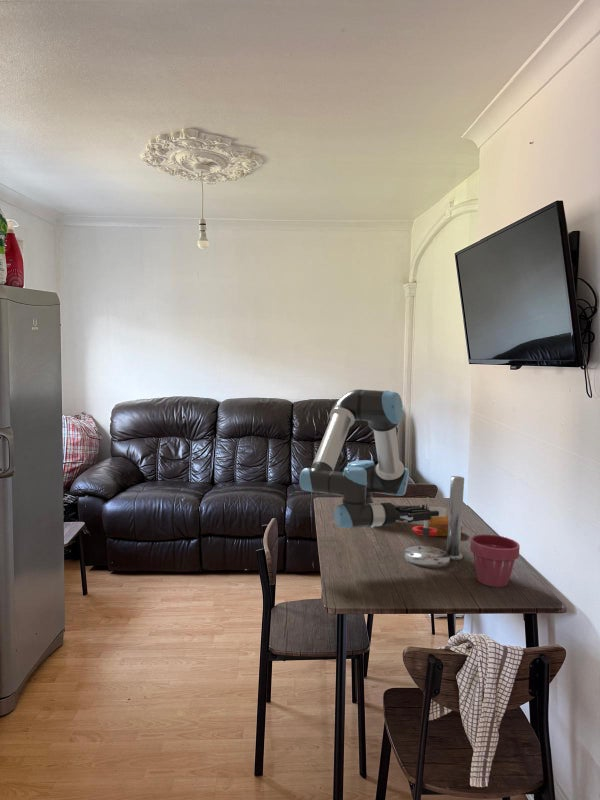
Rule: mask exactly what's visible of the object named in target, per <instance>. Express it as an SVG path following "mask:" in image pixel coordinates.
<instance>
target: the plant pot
mask: <svg viewBox="0 0 600 800" xmlns="http://www.w3.org/2000/svg"><path fill="white" fill-rule="evenodd" d="M520 546H521V545H520V544H519V542H518V541H515V540H514V539H512V538H509V537H504V536H503V535H502V536H501V535H495V534H485V533H484V534H477V535H476V534H475V535H473V536H472V537H471V538H470V547H469V548H470V549H469V550H470V552H471V553H473V561H474V568H475V569H474V570H475V572H476V579H477V581H478V582H479V583H480V584H483V585H485V586H489V587H492V588H493V587H494V588H503V587H506V586H508V584H509V580H510V577H511V575H512V572H513V569H514V566H515V562H516V560H518V558H519V557H520Z"/></svg>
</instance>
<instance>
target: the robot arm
mask: <svg viewBox="0 0 600 800" xmlns="http://www.w3.org/2000/svg"><path fill="white" fill-rule="evenodd" d="M403 407H404V406H403V401H402V398H401V395H400V394H399V393H398V392H396V391H390V390H375V389H374V390H371V389H353V390H351V391H348V392H347V393H345V394H344V395H342V396H341V397H339V399H338V400H336V402H335V403H334V405H332V408H331V411H330V412H329V422H328V424H327V427H326V430H325V432H324V435H323V437H322V440H321V442H320V445H319V448H318V449H317V452H316V454H315V457H314V459H313V462H312V465H311V467H304V468H303V469H301V471H300V474H299V478H298V479H299V482H298V483H299V486H300V489H301V490H303V491H306V492H310V493H320V494H325V495H326V494H329V495H335V496H342V500H341V501H342V503H340V504H336V505H335V508H334V511H333V515H334V516H333V518H334V522H335V524H336V526H338V527H339V528H341V529H355V528H358V529H359V528H368V527H369V528H371V529H374V528H375V527H381V526H382V527H391V526H393V525H395V523H396V522H397V521H398V522H404V521H407V523H409V524H410V523H413V522H420V521H424V520H430V519H431V517H445V516H446V515H447V508H446V507H444V506H429V509H428V510H426V504H422V505H397V504H393V503H392V502H374V499H373V493H374V494H380V495H381V494H383V495H389V496H404V495H405V494H406V492H407V487H408V483H409V475H410V469H409V468H407V467H405V466H404V464H403V462H402V461H401V460H400V455H399V443H398V437H397V436H398V435H397V429H396V428H397V427H398V425H399V424H400V423H401V421H402V419H403V413H404V411H403V409H404V408H403ZM356 421H362V422H364V421H365V422H367V425H368V427H370V429H371V430H372V431H373V437H374V442H375V449H376V455H377V456H376V457H377V464H375V462H374V460H370V459H369V460H367V459H364V460H363V459H362V460H361V459H360V460H355V461H350V462H349V463H347V465H346V466H345V467H344V468H343V471H335V468H336V465H337V462H338V459H339V457H340V454H341V451H342V448H343V446H344V443H345V440H346V438H347V436H348V433H349V430H350V428H351V427H352V426H353V425H354V424H355V422H356Z"/></svg>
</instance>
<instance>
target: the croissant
mask: <svg viewBox="0 0 600 800" xmlns="http://www.w3.org/2000/svg"><path fill="white" fill-rule="evenodd" d="M448 518H449V515H447V514H446V516H445V517H431V519H430V520H429V527H432V528H435V529H437V530H438V531H437V533H436V536H435V537H447V535H448ZM422 526H424V523H423V524H422ZM429 531H431V530H429ZM462 531H463V525H462V524H461V533H462Z"/></svg>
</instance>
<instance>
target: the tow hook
mask: <svg viewBox="0 0 600 800" xmlns="http://www.w3.org/2000/svg"><path fill="white" fill-rule="evenodd" d="M429 507H430V497H428V496H427V497H426V502H425V508H426V510H428V509H429ZM423 524H424V526H423V525H415V526H413V527H412V531H413V532H414V533H415V535H420V536H424V537H425V536H427V537H428V536H431V537H437V536H436V533H437V531H438V530H437V529H435V528H432V527H429V520H423ZM429 530H431V531H429Z"/></svg>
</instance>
